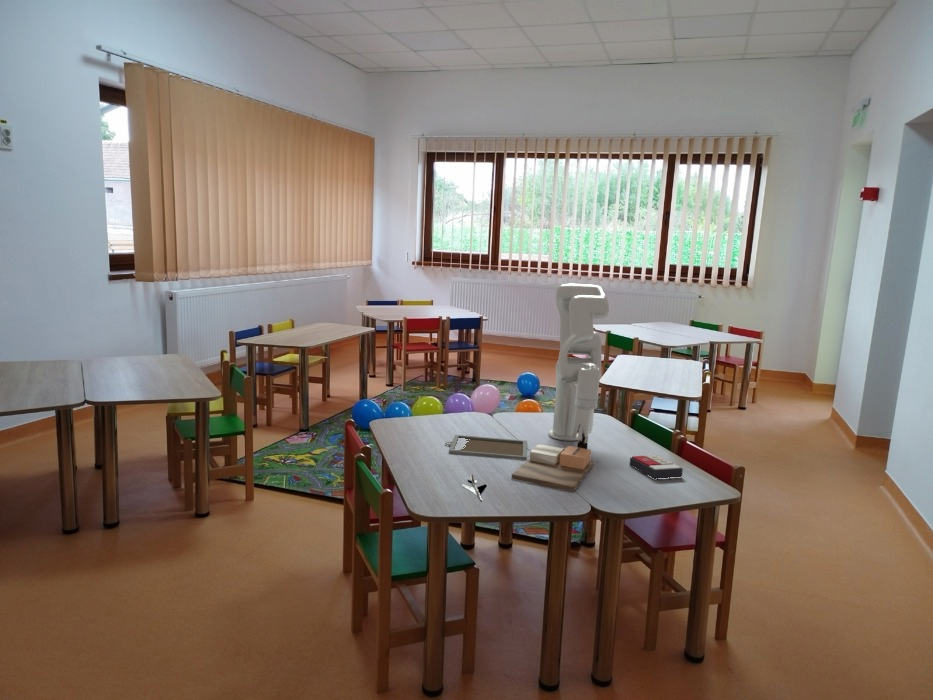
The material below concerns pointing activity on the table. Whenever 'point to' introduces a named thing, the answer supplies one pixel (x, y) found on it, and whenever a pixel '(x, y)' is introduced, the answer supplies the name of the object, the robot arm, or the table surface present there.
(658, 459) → the red black flat box
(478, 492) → the toy airplane
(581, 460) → the tan box with slot
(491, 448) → the framed hanging board
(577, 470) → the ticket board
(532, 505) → the table surface
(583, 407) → the robot arm
